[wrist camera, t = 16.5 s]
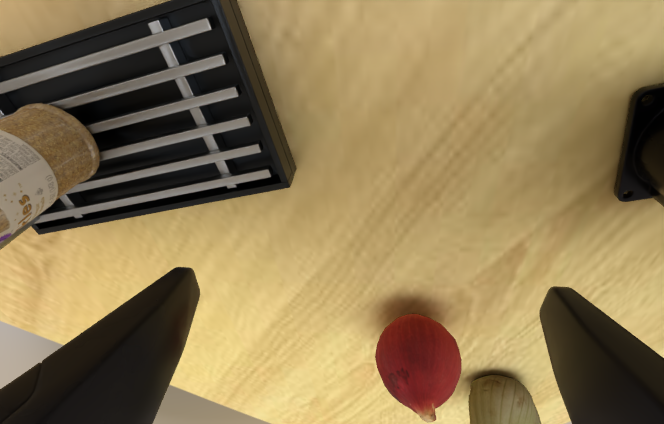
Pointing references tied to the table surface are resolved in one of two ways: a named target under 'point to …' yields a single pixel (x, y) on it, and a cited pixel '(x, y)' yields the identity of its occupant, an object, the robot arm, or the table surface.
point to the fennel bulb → (501, 402)
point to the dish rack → (156, 111)
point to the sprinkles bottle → (40, 162)
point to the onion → (418, 363)
